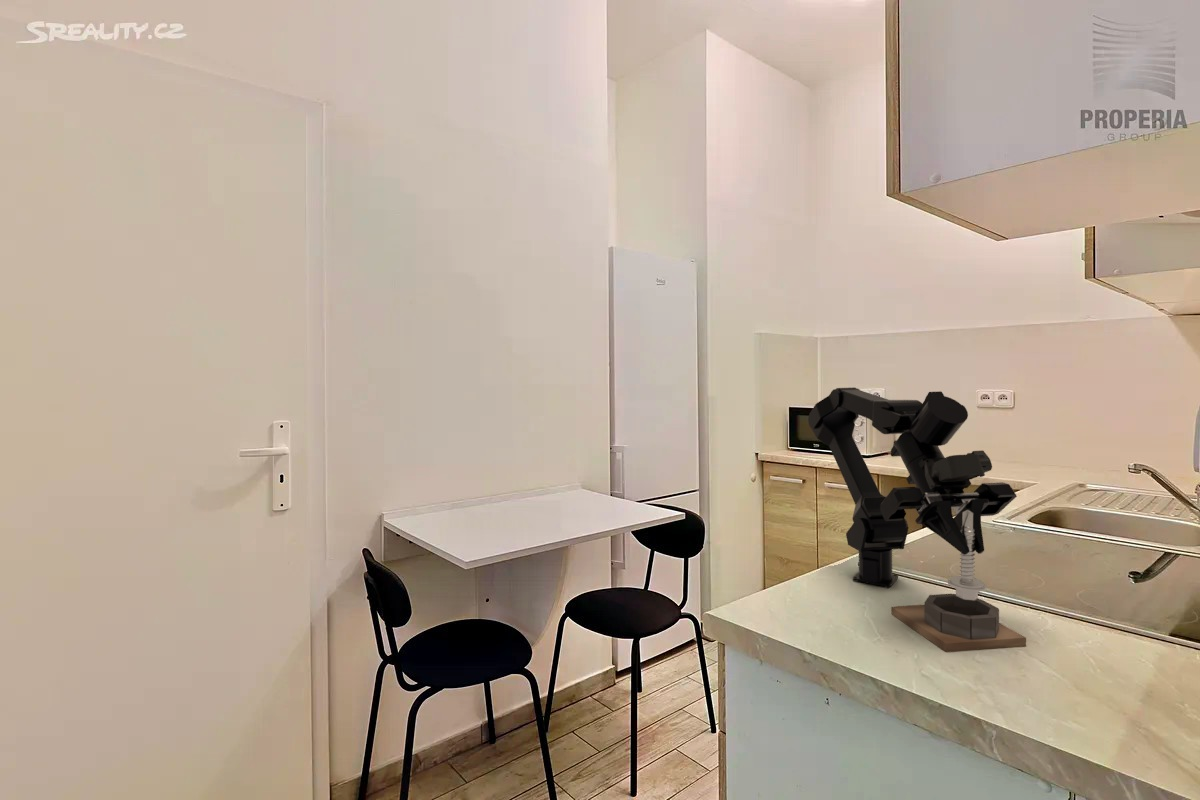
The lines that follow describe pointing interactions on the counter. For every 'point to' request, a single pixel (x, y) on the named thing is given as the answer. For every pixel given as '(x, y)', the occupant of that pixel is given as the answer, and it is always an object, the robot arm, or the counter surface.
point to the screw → (967, 565)
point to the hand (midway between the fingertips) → (974, 552)
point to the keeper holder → (958, 623)
